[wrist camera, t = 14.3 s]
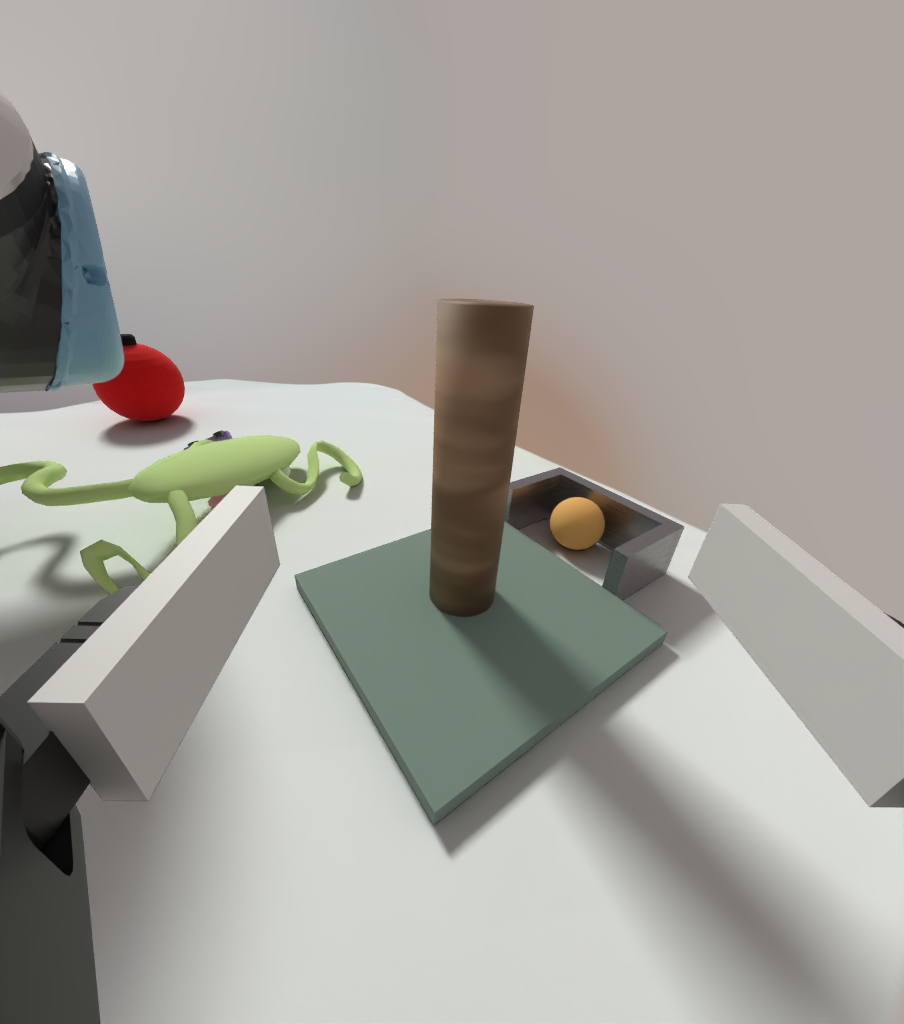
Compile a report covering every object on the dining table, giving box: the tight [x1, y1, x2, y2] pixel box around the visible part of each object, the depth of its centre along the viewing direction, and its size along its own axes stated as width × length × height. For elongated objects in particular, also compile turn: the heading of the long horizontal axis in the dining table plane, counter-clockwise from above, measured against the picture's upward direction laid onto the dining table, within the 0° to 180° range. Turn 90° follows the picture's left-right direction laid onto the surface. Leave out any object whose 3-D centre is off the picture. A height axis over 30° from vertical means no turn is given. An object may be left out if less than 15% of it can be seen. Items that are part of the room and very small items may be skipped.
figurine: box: [0, 431, 362, 595], centre depth 33 cm, size 18×27×6 cm
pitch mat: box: [295, 522, 668, 825], centre depth 25 cm, size 16×16×1 cm
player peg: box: [429, 299, 534, 617], centre depth 21 cm, size 4×4×16 cm
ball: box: [550, 497, 605, 550], centre depth 31 cm, size 4×4×4 cm
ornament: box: [93, 334, 185, 421], centre depth 49 cm, size 9×9×10 cm
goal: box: [505, 468, 684, 600], centre depth 31 cm, size 6×11×4 cm, turn 36°
